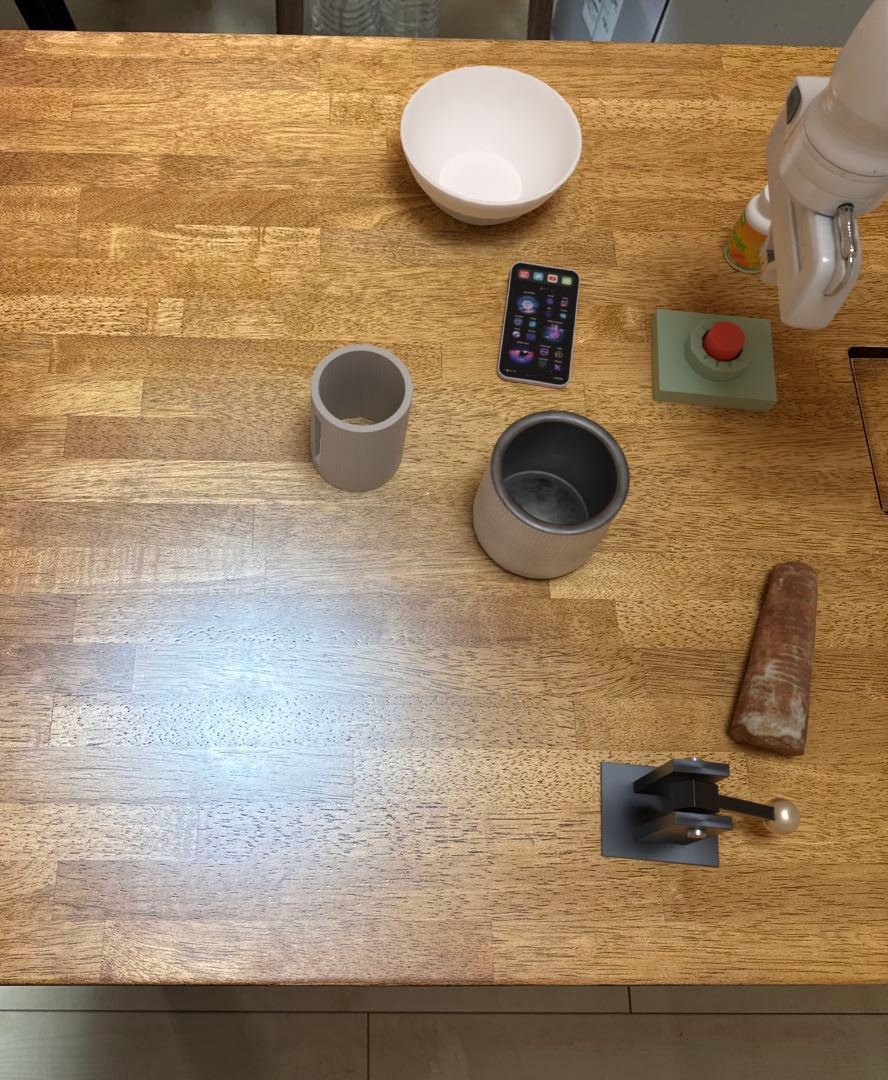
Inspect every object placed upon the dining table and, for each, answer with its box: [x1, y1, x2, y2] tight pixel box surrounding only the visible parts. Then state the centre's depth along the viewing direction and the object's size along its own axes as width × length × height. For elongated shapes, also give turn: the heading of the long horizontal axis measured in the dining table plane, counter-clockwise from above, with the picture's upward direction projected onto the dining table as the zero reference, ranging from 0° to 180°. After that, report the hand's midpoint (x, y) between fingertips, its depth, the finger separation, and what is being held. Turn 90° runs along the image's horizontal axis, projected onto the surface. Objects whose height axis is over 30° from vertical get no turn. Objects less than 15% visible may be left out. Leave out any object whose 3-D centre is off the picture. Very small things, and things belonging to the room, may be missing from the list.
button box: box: [649, 308, 778, 413], centre depth 105 cm, size 12×10×4 cm
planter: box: [472, 409, 631, 580], centre depth 94 cm, size 12×13×11 cm
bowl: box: [399, 65, 583, 227], centre depth 112 cm, size 19×19×8 cm
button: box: [704, 322, 745, 361], centre depth 103 cm, size 4×4×2 cm
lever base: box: [599, 756, 734, 868], centre depth 83 cm, size 10×8×12 cm
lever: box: [670, 779, 802, 836], centre depth 82 cm, size 13×3×3 cm, turn 85°
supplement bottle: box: [723, 183, 771, 274], centre depth 109 cm, size 5×5×10 cm
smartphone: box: [496, 261, 581, 389], centre depth 108 cm, size 8×1×15 cm
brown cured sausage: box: [729, 560, 819, 757], centre depth 92 cm, size 6×19×6 cm, turn 158°
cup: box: [310, 343, 414, 493], centre depth 96 cm, size 9×9×12 cm
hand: (768, 270), depth 93 cm, fingers closed
